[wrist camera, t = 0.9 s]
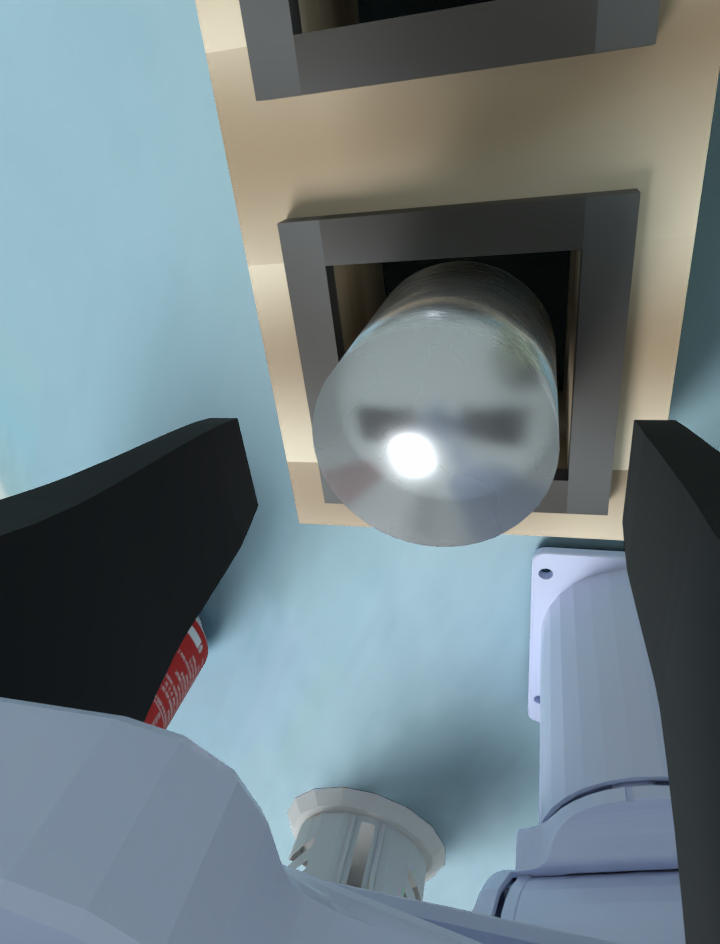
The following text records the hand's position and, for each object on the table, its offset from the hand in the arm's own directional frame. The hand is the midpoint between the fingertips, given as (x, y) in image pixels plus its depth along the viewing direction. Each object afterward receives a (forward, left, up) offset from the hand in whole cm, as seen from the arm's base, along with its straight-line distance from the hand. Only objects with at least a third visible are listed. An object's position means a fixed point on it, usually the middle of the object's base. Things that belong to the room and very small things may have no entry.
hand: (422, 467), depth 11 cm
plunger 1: (0, 0, -6) cm, 6 cm away
